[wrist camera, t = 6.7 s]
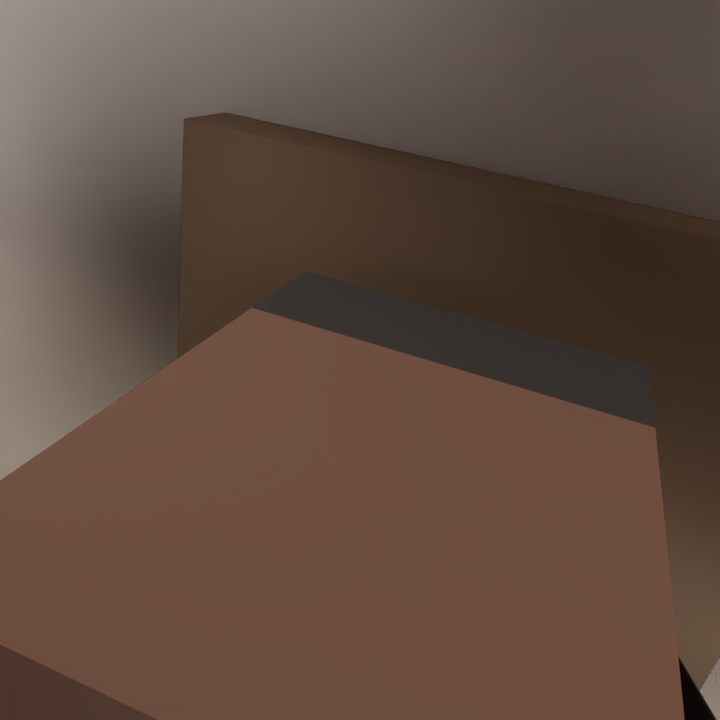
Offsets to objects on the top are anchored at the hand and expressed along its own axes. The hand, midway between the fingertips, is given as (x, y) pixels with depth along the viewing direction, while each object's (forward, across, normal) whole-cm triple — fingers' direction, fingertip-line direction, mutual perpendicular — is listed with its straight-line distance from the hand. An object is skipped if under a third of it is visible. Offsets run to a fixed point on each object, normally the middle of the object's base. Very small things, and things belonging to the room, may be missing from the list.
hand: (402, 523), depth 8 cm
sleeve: (+2, 0, 0) cm, 2 cm away
